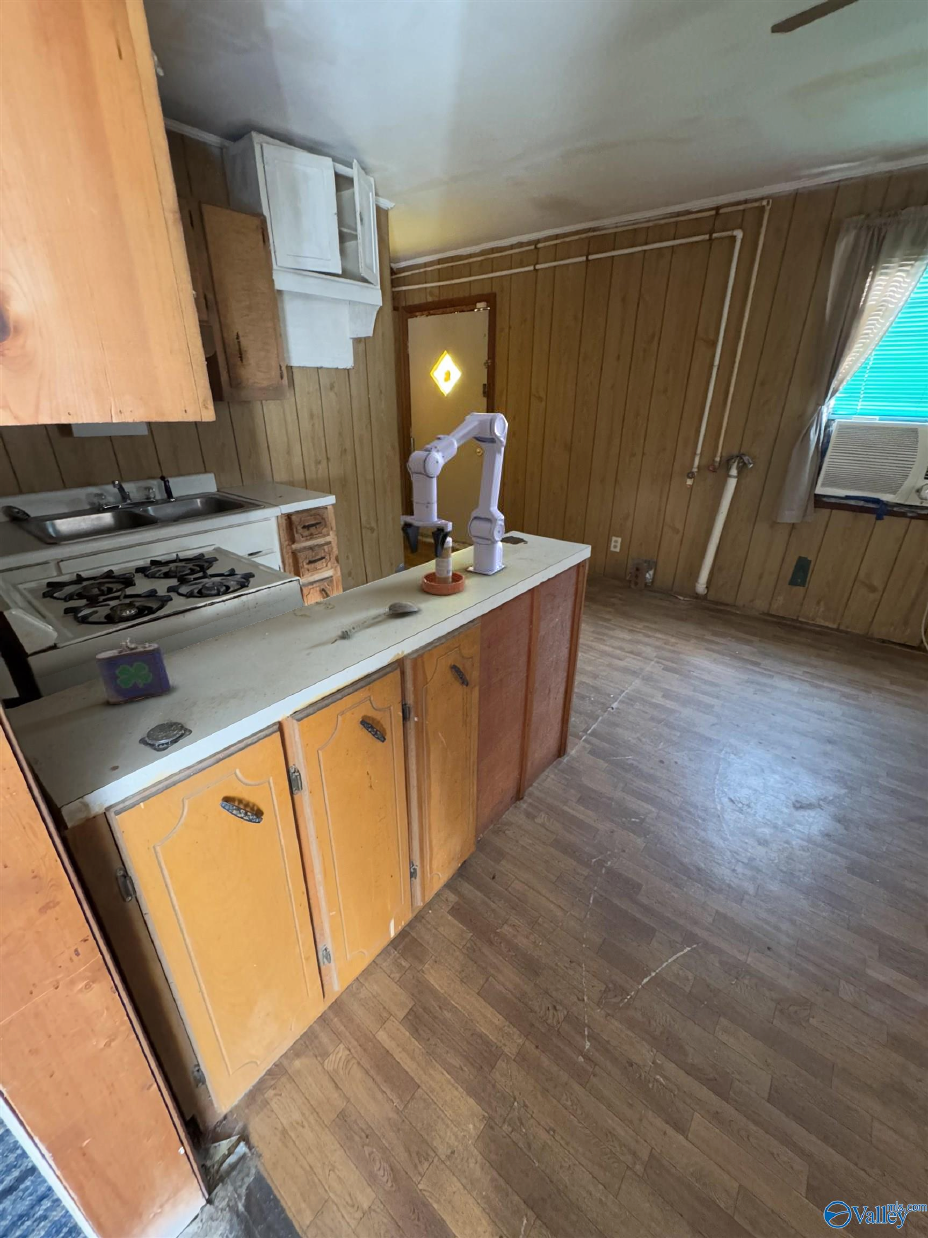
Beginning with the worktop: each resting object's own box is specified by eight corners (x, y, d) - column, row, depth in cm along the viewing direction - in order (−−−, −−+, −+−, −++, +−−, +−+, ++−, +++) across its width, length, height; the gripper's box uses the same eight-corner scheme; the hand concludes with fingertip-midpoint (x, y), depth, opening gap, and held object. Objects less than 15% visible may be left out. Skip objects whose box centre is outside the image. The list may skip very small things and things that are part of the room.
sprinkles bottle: (445, 582, 140) (444, 535, 135) (455, 586, 137) (455, 538, 131) (431, 585, 137) (431, 537, 132) (441, 590, 134) (441, 541, 129)
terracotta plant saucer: (437, 578, 145) (437, 568, 143) (472, 585, 139) (472, 575, 138) (413, 590, 136) (413, 579, 134) (450, 598, 130) (450, 587, 129)
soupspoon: (424, 614, 122) (405, 608, 126) (423, 601, 121) (404, 595, 125) (353, 641, 107) (333, 634, 110) (351, 626, 105) (332, 619, 109)
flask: (108, 706, 84) (90, 649, 80) (111, 697, 86) (93, 641, 82) (171, 693, 88) (157, 638, 83) (171, 685, 90) (157, 631, 86)
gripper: (392, 501, 125) (394, 553, 130) (440, 507, 118) (441, 563, 124) (409, 496, 130) (410, 547, 136) (456, 502, 124) (456, 556, 129)
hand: (426, 554), depth 130 cm, fingers open, 7 cm apart
